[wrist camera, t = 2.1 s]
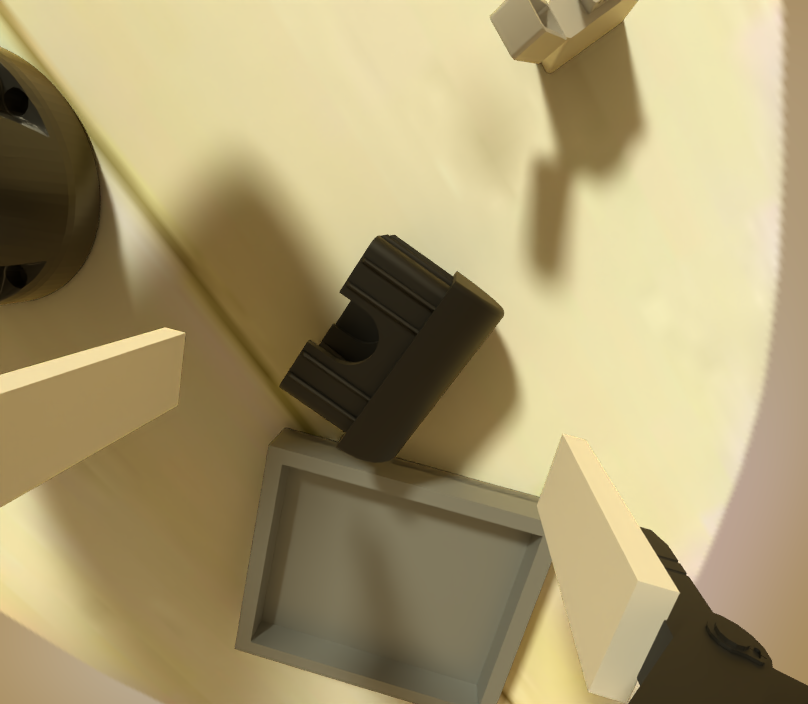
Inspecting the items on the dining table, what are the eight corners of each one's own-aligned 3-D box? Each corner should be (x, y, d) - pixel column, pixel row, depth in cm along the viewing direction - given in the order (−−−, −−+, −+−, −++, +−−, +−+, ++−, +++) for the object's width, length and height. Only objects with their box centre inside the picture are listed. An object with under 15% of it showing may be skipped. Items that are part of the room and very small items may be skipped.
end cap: (402, 428, 29) (386, 484, 22) (310, 364, 29) (265, 402, 22) (500, 300, 26) (513, 321, 20) (399, 228, 26) (379, 225, 19)
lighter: (607, -14, 22) (688, -149, 14) (624, 20, 22) (713, -95, 14) (479, 82, 23) (489, 8, 16) (496, 112, 24) (514, 53, 16)
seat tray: (251, 618, 34) (234, 648, 31) (284, 427, 30) (268, 445, 27) (486, 688, 33) (488, 725, 30) (555, 501, 29) (565, 526, 26)
